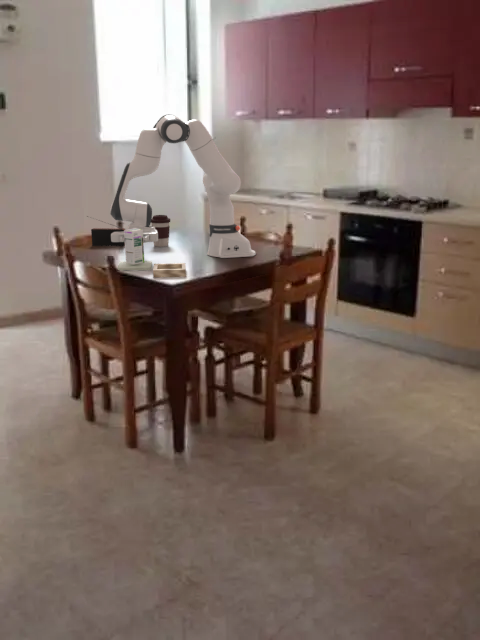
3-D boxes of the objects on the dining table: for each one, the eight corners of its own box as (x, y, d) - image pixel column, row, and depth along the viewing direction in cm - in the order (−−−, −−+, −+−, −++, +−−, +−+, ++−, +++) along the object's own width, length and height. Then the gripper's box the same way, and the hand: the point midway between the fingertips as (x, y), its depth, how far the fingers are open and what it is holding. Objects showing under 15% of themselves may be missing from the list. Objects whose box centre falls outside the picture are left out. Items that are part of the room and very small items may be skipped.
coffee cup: (168, 243, 369) (167, 213, 365) (173, 246, 360) (172, 216, 356) (149, 244, 366) (148, 214, 362) (153, 248, 357) (152, 217, 353)
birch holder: (185, 270, 306) (185, 263, 305) (185, 276, 294) (185, 269, 293) (154, 270, 305) (154, 263, 304) (153, 277, 293) (153, 270, 292)
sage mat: (152, 263, 320) (152, 260, 320) (150, 270, 306) (150, 267, 306) (119, 264, 319) (119, 261, 318) (117, 270, 305) (117, 268, 305)
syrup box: (134, 264, 308) (132, 230, 304) (125, 263, 312) (123, 229, 308) (144, 262, 312) (143, 229, 308) (135, 261, 316) (134, 227, 312)
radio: (126, 245, 366) (124, 215, 362) (124, 246, 363) (123, 216, 359) (90, 245, 367) (88, 215, 363) (88, 246, 365) (86, 216, 360)
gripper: (111, 227, 320) (108, 232, 307) (158, 226, 322) (157, 231, 308) (112, 241, 322) (109, 247, 309) (158, 240, 323) (158, 246, 310)
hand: (133, 239), depth 309 cm, fingers closed on syrup box, 8 cm apart
